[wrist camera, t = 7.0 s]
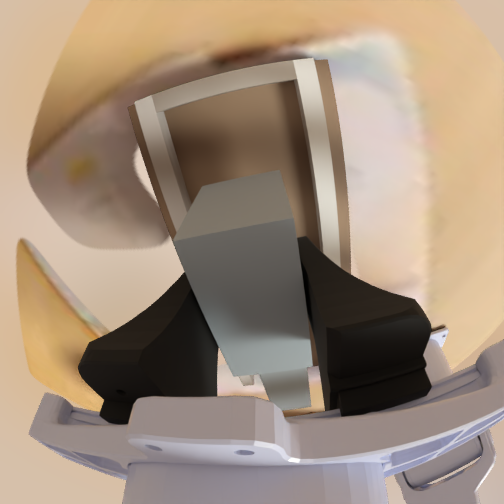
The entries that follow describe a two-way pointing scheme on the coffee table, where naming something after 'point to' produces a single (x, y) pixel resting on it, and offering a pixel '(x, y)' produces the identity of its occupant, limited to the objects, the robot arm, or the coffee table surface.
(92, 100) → the coffee table surface
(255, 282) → the gripped grey block
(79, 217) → the coffee table surface
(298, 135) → the raised edge track
